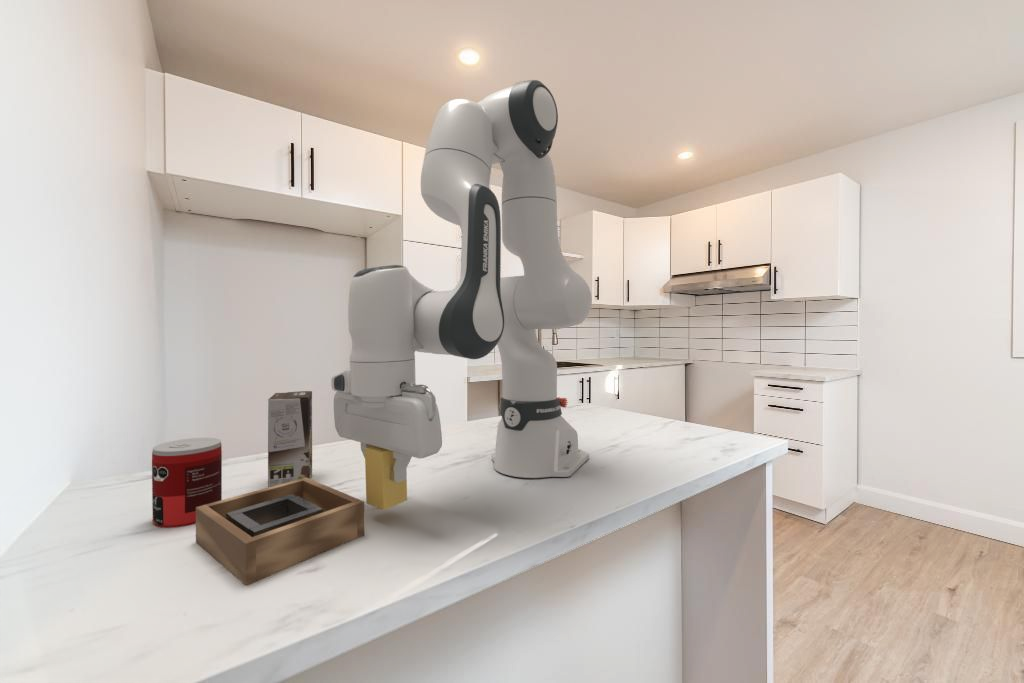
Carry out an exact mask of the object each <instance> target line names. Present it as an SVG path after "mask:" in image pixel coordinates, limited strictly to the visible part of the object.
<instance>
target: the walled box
mask: <svg viewBox="0 0 1024 683" xmlns="http://www.w3.org/2000/svg"><path fill="white" fill-rule="evenodd" d="M290 494H293V495H295V496H298V497H300V498H302V499H304V500H306V501H309V502H311V503H313V504H315V505H317V506H318V507H320V508H322V509H323V513H320V514H317V515H314V516H311V517H309V518H306V519H303V520H300V521H297V522H294V523H291V524H288V525H286V526H283V527H280V528H277V529H274V530H271V531H268V532H265V533H263V534H260V535H257V536H254V537H251V536H250V535H248V534H247V533H245V532H244V531H242V530H241V529H240V528H238V527H237V526H235V525H234V524H232V523H231V522H229V521H228V520H227V519H226V513H229V512H232V511H235V510H239V509H242V508H246V507H249V506H253V505H256V504H259V503H263V502H266V501H270V500H273V499H276V498H280V497H283V496H287V495H290ZM363 536H365V501H364V500H361V499H359V498H357V497H355V496H352V495H350V494H347V493H345V492H343V491H340V490H337V489H335V488H333V487H330V486H328V485H325V484H323V483H321V482H319V481H316V480H313V479H312V478H311V479H309V478H307V477H306V478H302V479H298V480H295V481H291V482H287V483H284V484H280V485H276V486H272V487H269V488H268V487H266V488H262V489H258V490H254V491H251V492H247V493H243V494H240V495H236V496H232V497H229V498H228V497H227V498H225V499H222V500H221V501H217V502H213V503H209V504H206V505H202V506H198V507H196V524H195V543H196V544H197V545H198V546H199V547H201V548H202V550H204V551H205V552H206V553H207V554H208V555H210V556H211V557H212V558H213V559H214V560H215V561H216V562H218V563H219V564H220V565H221V566H222V567H223V568H225V569H226V570H227V571H228V572H229V573H230V574H232V575H233V576H234V577H235V578H236V579H237V580H238V581H240V582H241V583H242V584H243V585H244V586H246V587H247V586H249V585H251V584H254V583H256V582H258V581H260V580H263V579H265V578H268V577H270V576H272V575H275V574H277V573H279V572H282V571H284V570H286V569H288V568H291V567H294V566H296V565H299V564H300V563H303V562H305V561H307V560H309V559H312V558H314V557H316V556H319V555H321V554H323V553H326V552H329V551H330V550H333V549H335V548H338V547H341V546H342V545H345V544H347V543H349V542H352V541H354V540H357V539H359V538H361V537H363Z"/></svg>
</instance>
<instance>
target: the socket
mask: <svg viewBox="0 0 1024 683" xmlns="http://www.w3.org/2000/svg"><path fill="white" fill-rule="evenodd" d="M320 513H323V509H322V508H320V507H318V506H317V505H315V504H313V503H311V502H309V501H306V500H304V499H302V498H300V497H298V496H295V495H293V494H290V495H287V496H283V497H280V498H276V499H273V500H270V501H266V502H263V503H259V504H256V505H253V506H249V507H246V508H242V509H239V510H235V511H232V512H229V513H226V519H227V520H228V521H229V522H231V523H232V524H234V525H235V526H237V527H238V528H240V529H241V530H242V531H244V532H245V533H247V534H248V535H250V536H251V537H254V536H257V535H260V534H263V533H265V532H268V531H271V530H274V529H277V528H280V527H283V526H286V525H288V524H291V523H294V522H297V521H300V520H303V519H306V518H309V517H311V516H314V515H317V514H320Z"/></svg>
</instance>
